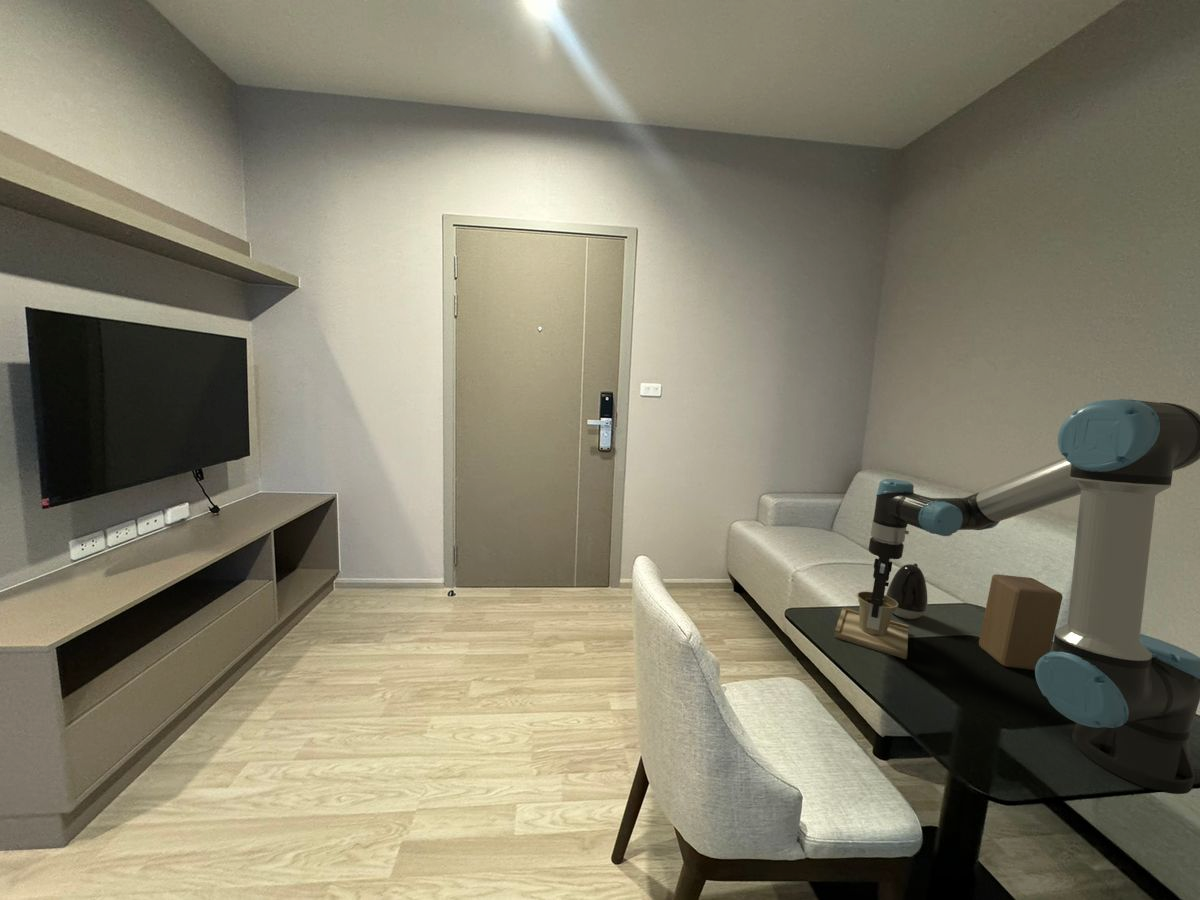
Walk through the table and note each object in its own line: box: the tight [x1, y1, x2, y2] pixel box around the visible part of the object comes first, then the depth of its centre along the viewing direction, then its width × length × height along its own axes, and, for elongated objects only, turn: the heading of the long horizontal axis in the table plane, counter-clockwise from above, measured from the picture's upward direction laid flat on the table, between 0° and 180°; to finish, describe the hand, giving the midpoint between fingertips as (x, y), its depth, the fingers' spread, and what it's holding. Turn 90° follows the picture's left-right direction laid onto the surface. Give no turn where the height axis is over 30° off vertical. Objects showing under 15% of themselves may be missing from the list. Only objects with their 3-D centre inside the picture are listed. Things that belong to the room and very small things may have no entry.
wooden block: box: [978, 573, 1063, 671], centre depth 122 cm, size 10×10×20 cm
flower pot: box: [856, 590, 898, 636], centre depth 130 cm, size 9×9×9 cm
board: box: [833, 606, 909, 660], centre depth 131 cm, size 16×16×2 cm
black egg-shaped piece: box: [885, 563, 928, 620], centre depth 143 cm, size 10×10×15 cm
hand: (874, 618), depth 130 cm, fingers open, 13 cm apart
